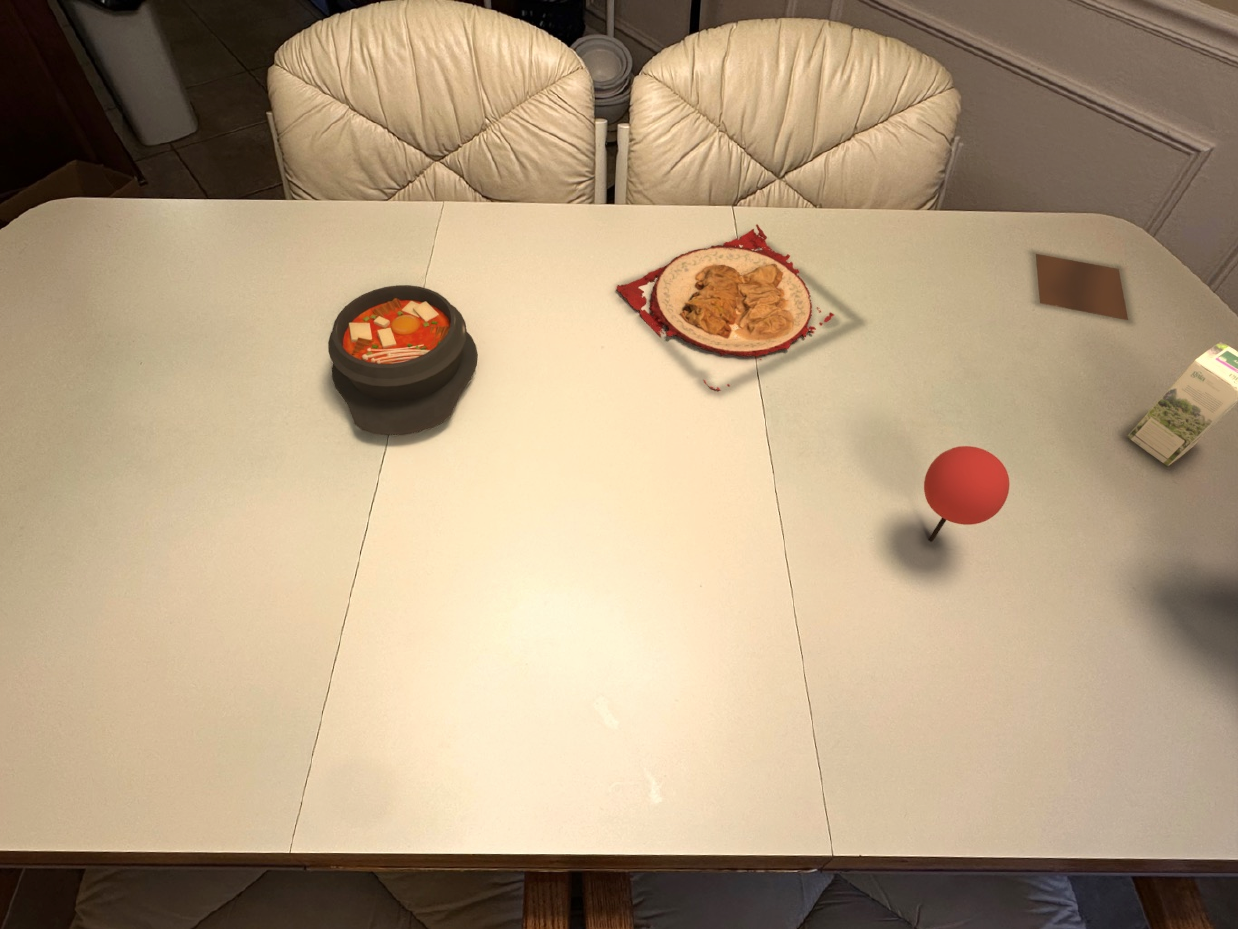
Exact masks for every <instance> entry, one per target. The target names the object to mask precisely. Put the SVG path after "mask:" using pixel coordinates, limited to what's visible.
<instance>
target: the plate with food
mask: <svg viewBox="0 0 1238 929" xmlns="http://www.w3.org/2000/svg"><path fill="white" fill-rule="evenodd" d="M755 227H756V229H757V231H758V234H757V233H756V232H755V228H752V229H750V230H749V231H748V232H747V233H745V234H742V235H741V236H740V238H735V239H732V240H730V241H725V242H724V243H723V245H722V244H717V245H711V246H710V247H707V248H706V247H705V248H698V249H693V250H689V251H687V252H685V253H681V254H679V255H678V256H675V257H674V258H672V259H671V261H670V262H668V263H667V264H666V265H664V266H661V267H659V268H657V269H655V270H652V271H649V272H648V273H647V274H645V275H644V276H643V277H641V278H638V279H635V280H633V281H631V282H629V283H625V284H621V285H620V284H617V286H616V290H617V292H618V293H620V294H621V295H622V297H623V299H626V301H628V303H629V305H630V306H631V307H632V308H633V309H635V310H637V311H639V314H640V315H641V318H642V320H644V322H645V323H647V325H648V326H649V327H650V328H651V329H652V330H653V331H654V332H655V333H656V334H658V335H659V337H660V338H662V335H664V334H665V335H666V337H669V338H670V337H672V336H676V337H678V338H680V339H682V340H684V342H686V343H688V344H691V345H693V346H695V347H698V348H700V349H703V350H705V351H708V352H712V353H716V354H718V355H720V356H721V357H722V356H726V355H729V356H736V357H745V358H747V357H755V358H757V357H759V356H762V355H768V354H770V353H773V352H777V351H780V350H789V349H790V347H791V345H792V344H793V342H795V341H797V340H798V339H799V337H800V336H803V338H807V333H808V332H810V333H811V334H815V330H817V328H816V327H815V326H811V325H809V326H808V324H809V321H810V320H811V319H812V316H813V315H812V313H813V310H812V309H813V305H812V303H813V302H812V300H811V299H810V298H811V295H810V294H811V293H810V291H809V289H808V287H807V284H806V282H805V280H803V279H802V278H801V277H800V275H798V274H800V270H799V269H798V268H794V263H793V261H790V262H788V260H789V259H790V258H791V255H790V254H786V255H783V254H782V253H780V252H775V250H773V249H772V248H771V247H770V246H769V245H768V244H767V242H766V240H767V239H768V236H767V235H766V234H765V233H764V231H763V230H762V229H761V228H760V226H759V224H758V223H756V224H755ZM654 281H655V282H654ZM651 282H654V285H653V286H652V292H651V294H650V296H651V297H650V302H649V305H650V306H649V310H650V313H648V311H647V310H646V309H642V308H643V307H645V305H646V304H647V300H648V299H647V298H646V296H644V295H643V294H644V293H645V290H643V289H641V288H640V287H643V286H646V285H648V284H649V283H651ZM815 310H817V311H818V314H820V313H822V310H821V309H820V307H819V306H816V308H815ZM828 314H829V315H827V316H826V317H825V318H824V320H823V322H824V323H828V322H829V321H830V320H832V317H834V316H835V313H833V312H829V313H828ZM823 322H819V323H818V324H819V326H821V327H822V326H823ZM734 327H735V328H734ZM736 328H737V329H736ZM663 329H665V330H663ZM667 329H668V330H667ZM803 346H804V345H803ZM758 361H762V358H759V359H758ZM703 382H704V383H705V384H707V382H706V380H705V379H703ZM726 386H727V387H730V383H727V385H726ZM710 388H711V389H713V390H716V391H721V389H720V388H719V387H718V386H717V387H716V388H715V387H714V386H710Z"/></svg>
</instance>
